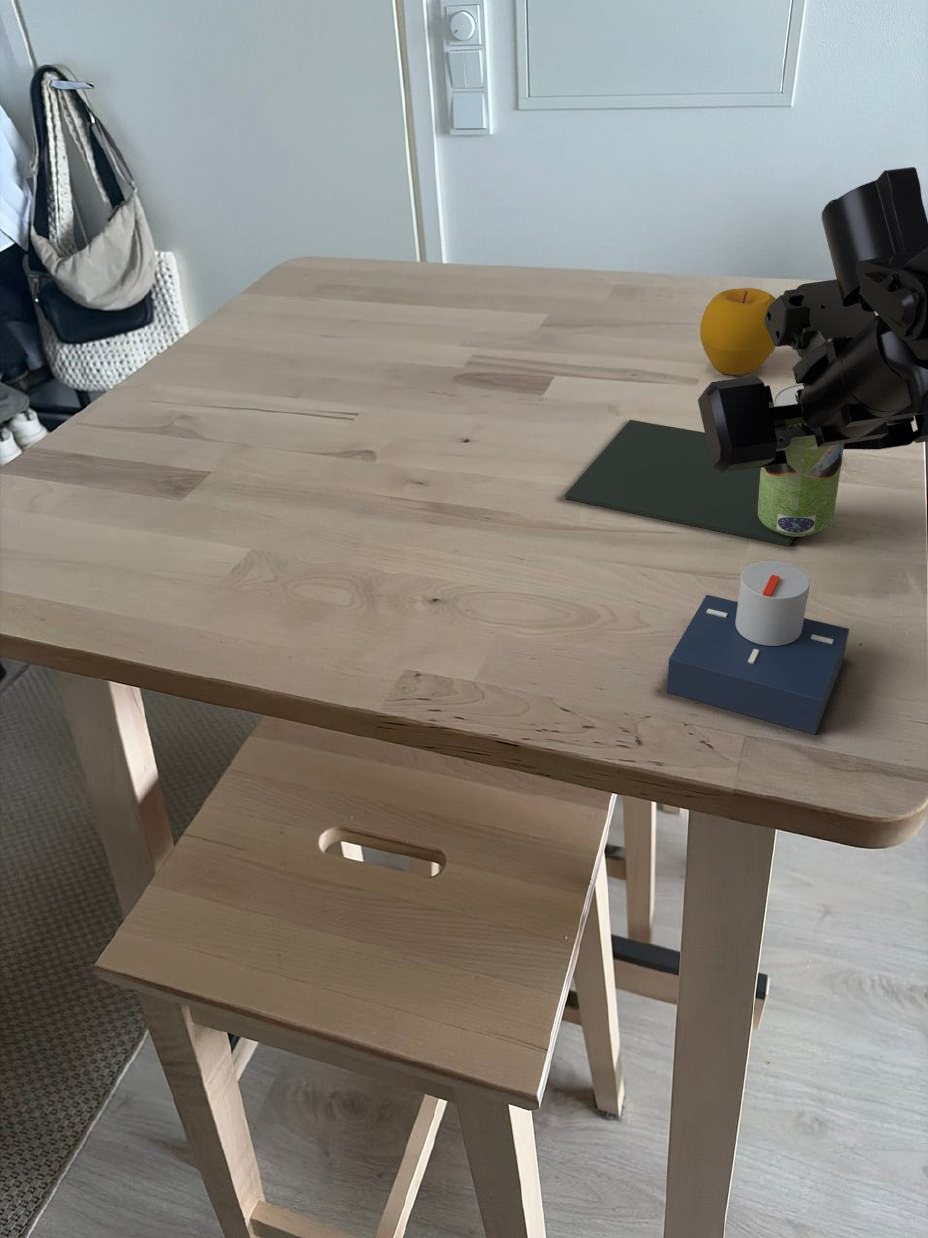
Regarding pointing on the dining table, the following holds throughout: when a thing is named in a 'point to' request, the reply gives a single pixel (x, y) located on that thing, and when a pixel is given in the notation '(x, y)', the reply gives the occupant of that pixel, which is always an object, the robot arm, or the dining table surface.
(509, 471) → the dining table surface
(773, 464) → the robot arm
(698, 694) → the rotary dial base
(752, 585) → the grey rotary knob
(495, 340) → the dining table surface
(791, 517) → the beverage can
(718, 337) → the apple
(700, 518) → the drip mat
